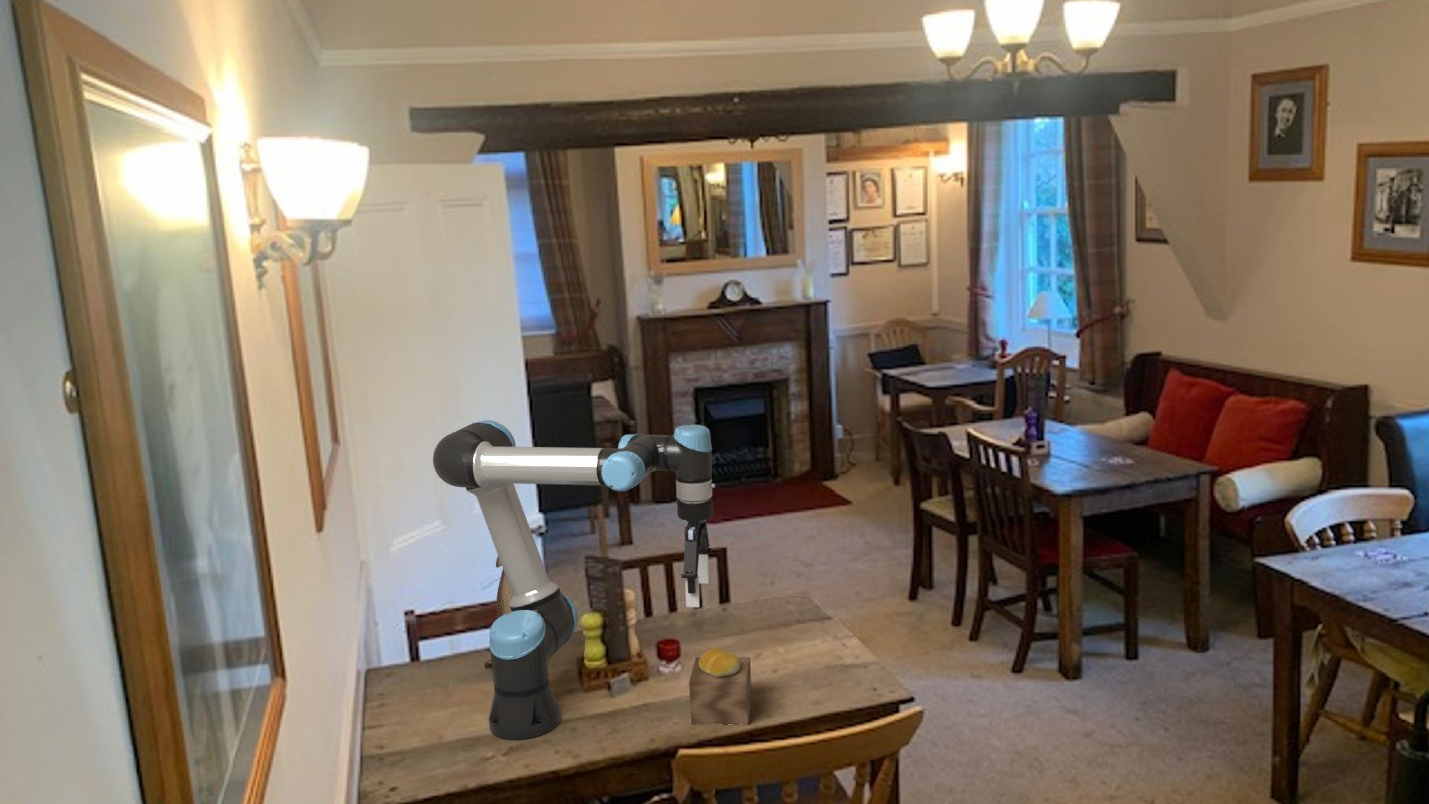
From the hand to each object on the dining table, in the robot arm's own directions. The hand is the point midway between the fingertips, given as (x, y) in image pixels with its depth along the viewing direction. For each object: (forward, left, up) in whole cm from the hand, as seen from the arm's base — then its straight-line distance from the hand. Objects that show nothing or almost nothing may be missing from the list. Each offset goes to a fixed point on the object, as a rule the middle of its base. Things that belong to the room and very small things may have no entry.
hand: (697, 594), depth 227 cm
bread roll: (+4, -2, -16) cm, 17 cm away
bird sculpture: (-49, +19, -26) cm, 59 cm away
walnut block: (+4, -2, -26) cm, 27 cm away
